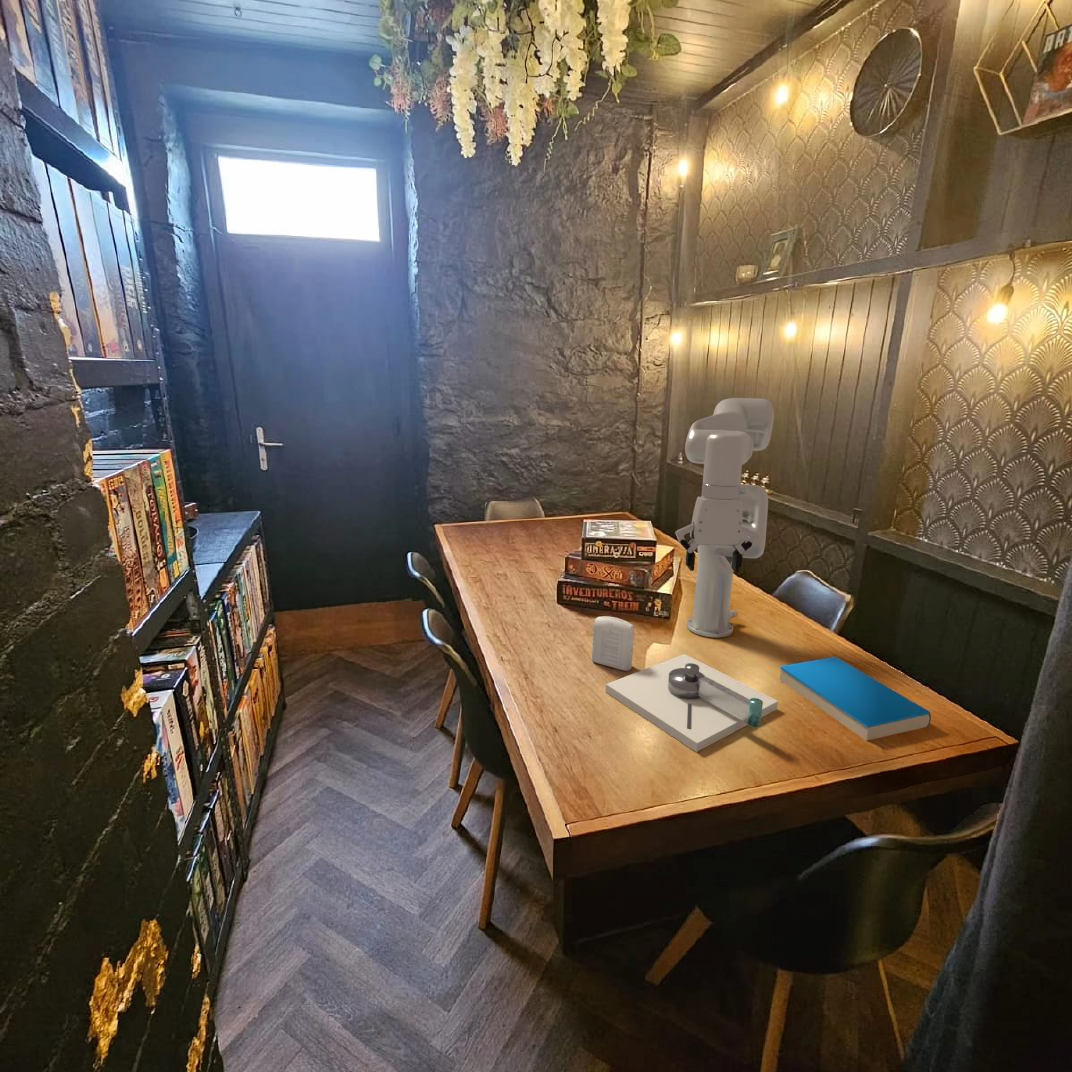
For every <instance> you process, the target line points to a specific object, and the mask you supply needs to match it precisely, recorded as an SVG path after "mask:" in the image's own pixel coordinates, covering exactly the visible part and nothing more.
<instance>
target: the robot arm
mask: <svg viewBox="0 0 1072 1072" xmlns="http://www.w3.org/2000/svg"><path fill="white" fill-rule="evenodd" d="M774 412H775V411H774V407H773V405H772V403H771V402H770V400H768V399H766V398H756V397H755V398H753V397H748V398H746V397H744V398H743V397H730V398H726V399H725V398H724V399H722V400H721V401H719V402H718V403H717V404H716V406H715V407H714V410H713V413H712V415H709V416H707V417H703V418H701V419H698V420H696V421H695V422H693V423H692V425H691V426H690V428H689V431H688V433H687V435H686V439H685V445H684V453H685V457H686V458H687V460H688V461H689V462H690V463H692V464H693V463H694V464H703V474H702V475H703V477H702V486H701V496H697V498H696V501H695V505H694V508H693V512H692V518H691V523H689V524H687V525H686V526H684V527H682V528H679V529H677V530H676V531H675V532H674V533H675V535H676V537H677V540H678V542H679V544H680V545H681V546H682V547H683V548H684V549H685V550H686V554H685V566H687V568H688V569H689V571H691V572H692V571H695V563H696V553H695V551H696V549H697V566H696V567H697V569H696V580H695V592H694V601H693V602H694V605H693V614H692V617H691V618H689V619H687V622H686V627H687V629H688V630H689V631H691V632H692V633H694V634H695V635H698V636H701V637H706V638H715V639H716V638H726V637H729V636H730V635H732V634H733V632H734V625H732V623H731V622H730V620H731V619H733V618H736V617H738V611H737V610H736V609H732V610H730V607H731V606H730V605H731V598H732V589H733V578H734V572H736V573H739V571H740V568H742V563H743V558H745V559H758V558H760V557H761V556H762V555H764V551H765V547H766V539H767V538H766V537H767V526H768V513H769V510H768V509H769V496H768V493H767V492H768V491H767V490H766V489H765V488H764V487H763V486H761V485H756V484H746V483H741V480H742V466H743V465H745V464H746V463H747V462H748V461H749V459H751V458H752V455H753V453H754V452H759V451H764V450H765V449H766V448H767V447H768V446H769V444H770V441H771V438H772V437H771V436H772V432H773V427H774V420H775V413H774ZM743 520H746V521H743ZM689 533H690V534H689ZM687 534H689V536H690V540H689V542H687V541H686V538H685V535H687ZM727 557H731V563H730V562H729V561H728V558H727Z"/></svg>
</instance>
